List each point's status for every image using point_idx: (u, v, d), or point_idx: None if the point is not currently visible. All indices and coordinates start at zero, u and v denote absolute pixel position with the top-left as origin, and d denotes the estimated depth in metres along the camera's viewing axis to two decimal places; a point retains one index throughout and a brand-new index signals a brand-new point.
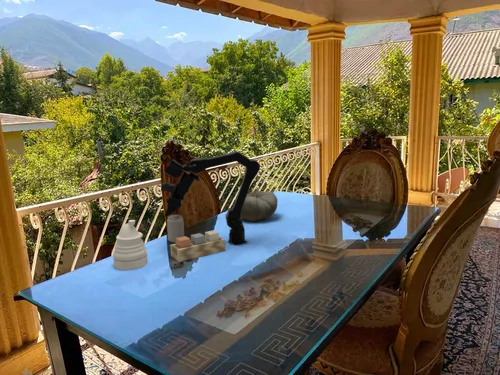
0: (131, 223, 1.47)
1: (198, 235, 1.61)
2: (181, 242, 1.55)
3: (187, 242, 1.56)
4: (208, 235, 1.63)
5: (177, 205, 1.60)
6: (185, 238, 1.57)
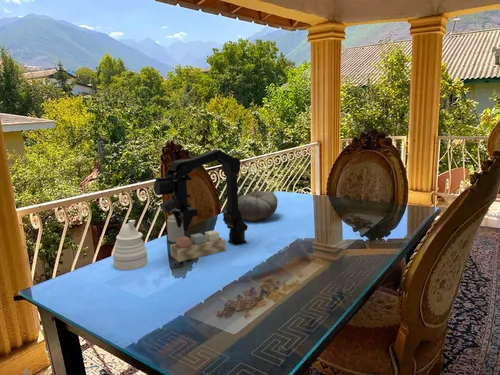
0: (131, 223, 1.47)
1: (198, 235, 1.61)
2: (181, 242, 1.55)
3: (187, 242, 1.56)
4: (208, 235, 1.63)
5: (195, 214, 1.48)
6: (185, 238, 1.57)
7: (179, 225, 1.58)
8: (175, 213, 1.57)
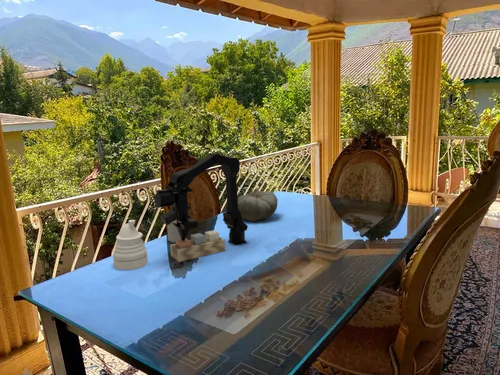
0: (131, 223, 1.47)
1: (198, 235, 1.61)
2: (181, 244, 1.55)
3: (187, 244, 1.56)
4: (208, 235, 1.63)
5: (196, 226, 1.49)
6: (185, 240, 1.57)
7: None
8: None
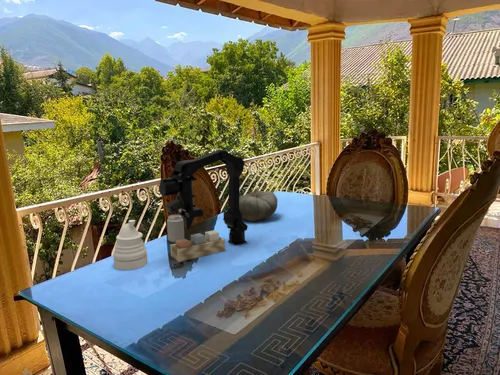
0: (131, 223, 1.47)
1: (198, 235, 1.61)
2: (181, 245, 1.55)
3: (187, 244, 1.56)
4: (208, 235, 1.63)
5: (200, 214, 1.50)
6: (185, 241, 1.57)
7: None
8: None
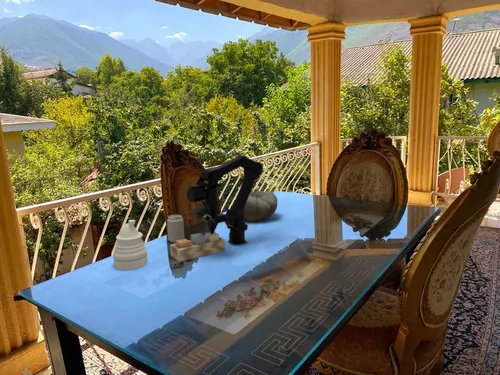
0: (131, 223, 1.47)
1: (198, 235, 1.61)
2: (181, 245, 1.55)
3: (187, 244, 1.56)
4: (208, 236, 1.63)
5: (225, 219, 1.57)
6: (185, 241, 1.57)
7: None
8: (208, 220, 1.63)
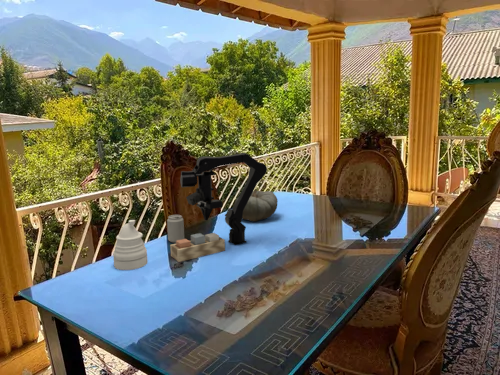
0: (131, 223, 1.47)
1: (198, 235, 1.61)
2: (181, 245, 1.55)
3: (187, 244, 1.56)
4: (208, 238, 1.63)
5: (220, 205, 1.61)
6: (185, 241, 1.57)
7: None
8: None
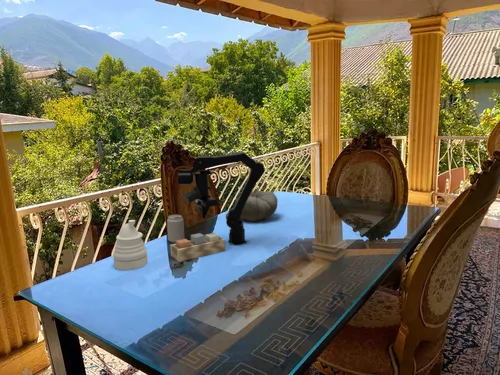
0: (131, 223, 1.47)
1: (198, 235, 1.61)
2: (181, 245, 1.55)
3: (187, 244, 1.56)
4: (208, 238, 1.63)
5: (216, 204, 1.64)
6: (185, 241, 1.57)
7: None
8: None
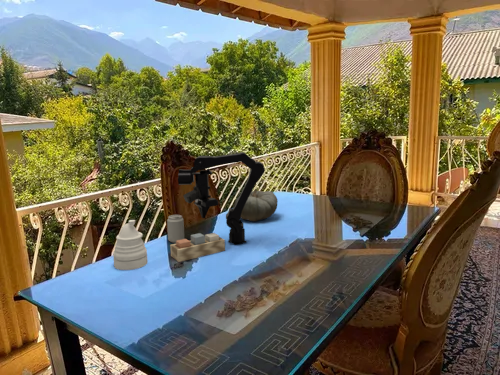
0: (131, 223, 1.47)
1: (198, 235, 1.61)
2: (181, 245, 1.55)
3: (187, 244, 1.56)
4: (208, 238, 1.63)
5: (216, 204, 1.64)
6: (185, 241, 1.57)
7: None
8: None
